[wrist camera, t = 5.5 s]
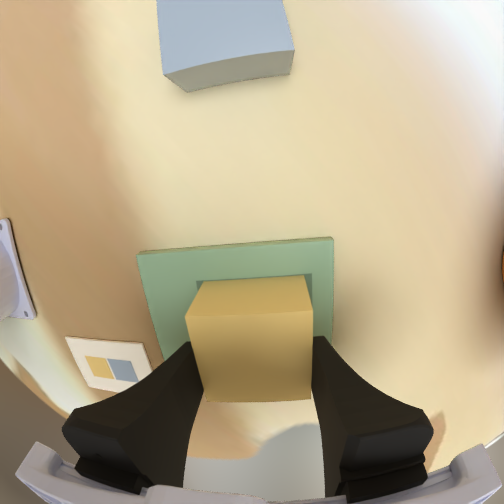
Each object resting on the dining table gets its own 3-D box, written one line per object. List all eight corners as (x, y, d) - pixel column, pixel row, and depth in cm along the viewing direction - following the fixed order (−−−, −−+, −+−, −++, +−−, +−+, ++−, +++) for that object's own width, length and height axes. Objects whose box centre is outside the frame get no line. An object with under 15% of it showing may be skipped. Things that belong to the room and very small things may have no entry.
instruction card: (89, 385, 19) (88, 387, 19) (66, 336, 17) (64, 337, 17) (163, 396, 18) (162, 398, 18) (143, 342, 17) (141, 344, 16)
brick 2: (218, 358, 16) (207, 401, 12) (203, 281, 14) (184, 316, 11) (304, 355, 15) (310, 398, 12) (303, 274, 14) (312, 310, 10)
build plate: (175, 378, 17) (172, 384, 17) (140, 251, 15) (135, 255, 14) (327, 375, 16) (328, 381, 16) (331, 236, 14) (333, 240, 13)
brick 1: (188, 93, 12) (163, 74, 9) (178, 16, 11) (155, -14, 7) (289, 75, 12) (294, 49, 8) (271, -2, 10) (270, -38, 7)
